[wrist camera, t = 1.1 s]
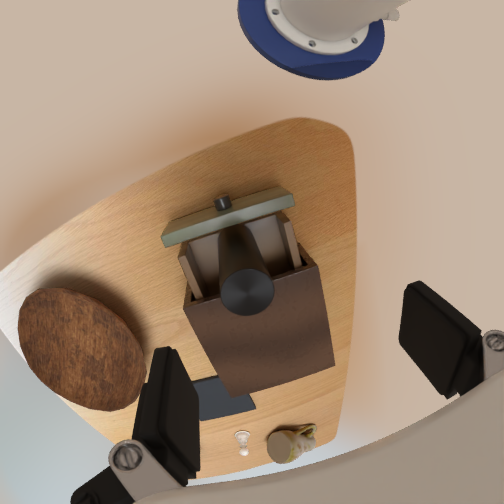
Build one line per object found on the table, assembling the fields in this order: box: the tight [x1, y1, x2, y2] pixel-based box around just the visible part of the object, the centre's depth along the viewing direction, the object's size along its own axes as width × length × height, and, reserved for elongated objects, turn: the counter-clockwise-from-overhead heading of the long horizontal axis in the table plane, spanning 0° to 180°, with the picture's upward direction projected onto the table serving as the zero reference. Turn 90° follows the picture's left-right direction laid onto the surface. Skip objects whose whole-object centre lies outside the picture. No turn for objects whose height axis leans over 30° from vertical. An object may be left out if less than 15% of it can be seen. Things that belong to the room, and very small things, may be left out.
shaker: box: [218, 224, 275, 316], centre depth 25 cm, size 4×4×11 cm
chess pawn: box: [235, 431, 250, 456], centre depth 43 cm, size 3×3×5 cm
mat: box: [192, 375, 256, 421], centre depth 41 cm, size 10×10×1 cm
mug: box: [267, 425, 317, 464], centre depth 45 cm, size 8×10×10 cm
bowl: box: [18, 288, 147, 412], centre depth 32 cm, size 20×22×5 cm
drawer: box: [161, 186, 302, 301], centre depth 29 cm, size 15×12×5 cm
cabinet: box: [183, 243, 335, 398], centre depth 33 cm, size 15×14×7 cm
